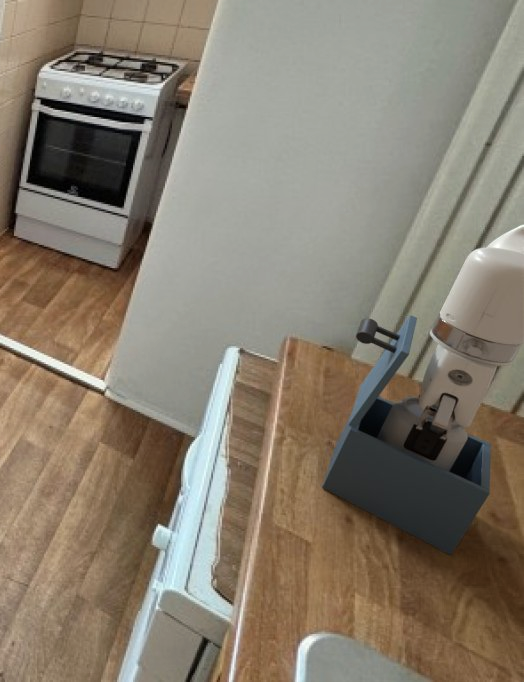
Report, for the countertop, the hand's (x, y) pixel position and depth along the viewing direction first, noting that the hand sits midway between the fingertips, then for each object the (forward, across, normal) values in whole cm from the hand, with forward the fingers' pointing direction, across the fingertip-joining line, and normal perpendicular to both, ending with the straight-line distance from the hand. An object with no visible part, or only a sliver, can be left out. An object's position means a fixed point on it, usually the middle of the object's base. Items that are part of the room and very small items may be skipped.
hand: (421, 437), depth 86 cm
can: (+8, 0, 0) cm, 8 cm away
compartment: (+12, 0, 0) cm, 12 cm away
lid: (-8, 0, +6) cm, 10 cm away
